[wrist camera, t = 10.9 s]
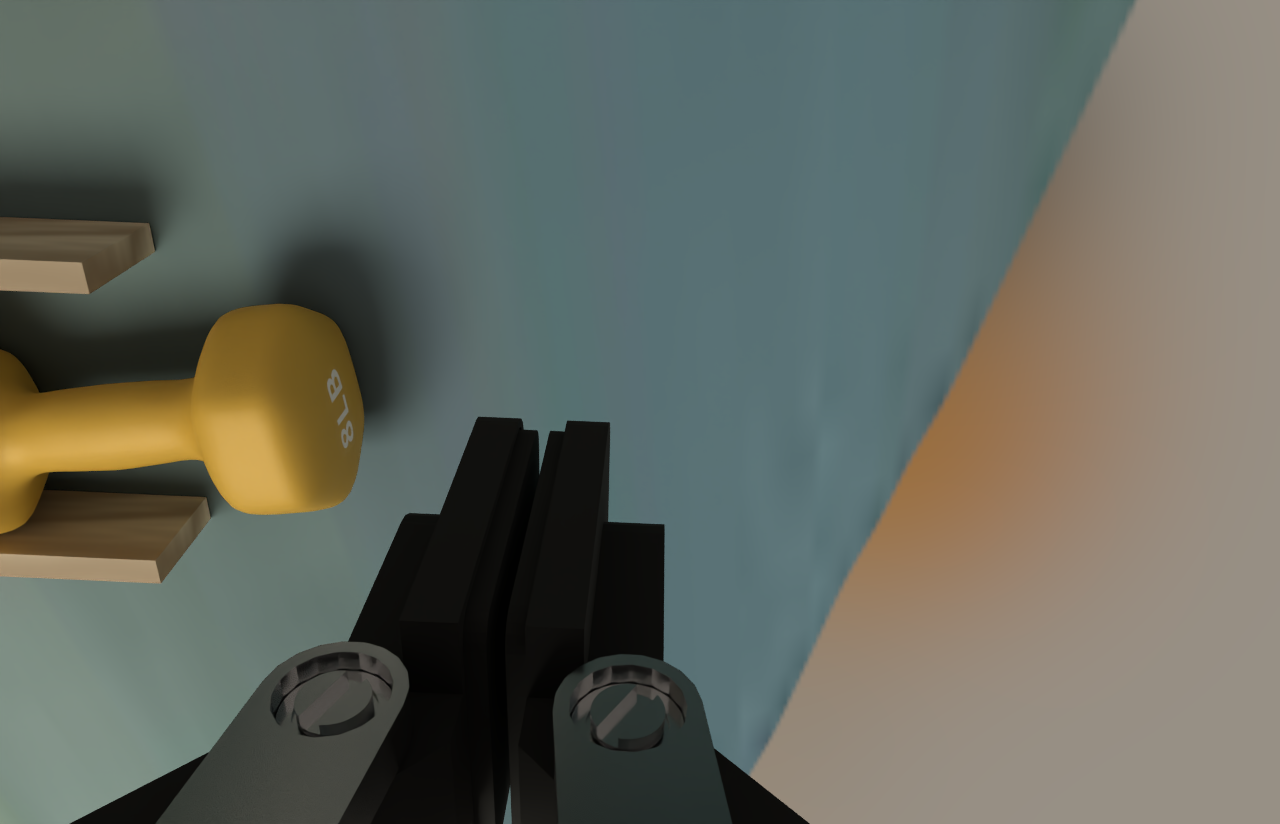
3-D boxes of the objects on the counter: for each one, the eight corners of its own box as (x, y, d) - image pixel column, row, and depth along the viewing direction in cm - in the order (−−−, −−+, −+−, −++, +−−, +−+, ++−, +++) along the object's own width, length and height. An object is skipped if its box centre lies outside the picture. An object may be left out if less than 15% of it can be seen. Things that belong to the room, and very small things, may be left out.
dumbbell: (2, 484, 45) (-126, 593, 38) (-83, 306, 41) (-246, 389, 34) (393, 454, 44) (338, 561, 36) (345, 266, 40) (273, 345, 32)
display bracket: (-139, 211, 39) (-243, 248, 34) (149, 223, 39) (81, 262, 34) (-35, 507, 45) (-112, 571, 41) (210, 518, 45) (160, 583, 41)
